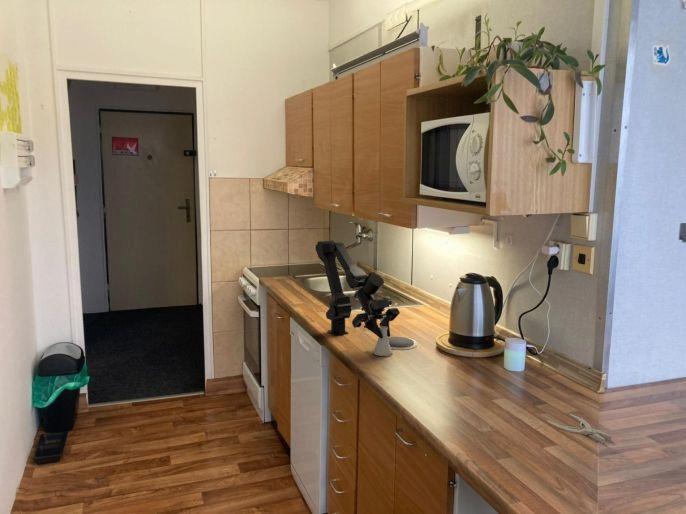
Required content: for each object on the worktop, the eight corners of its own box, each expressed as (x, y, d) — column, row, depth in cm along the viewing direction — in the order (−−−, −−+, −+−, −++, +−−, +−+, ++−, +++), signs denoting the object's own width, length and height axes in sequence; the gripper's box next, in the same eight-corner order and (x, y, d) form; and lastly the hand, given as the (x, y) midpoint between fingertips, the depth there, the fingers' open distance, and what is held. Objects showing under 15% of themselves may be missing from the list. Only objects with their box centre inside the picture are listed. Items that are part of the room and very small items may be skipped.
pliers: (571, 410, 158) (620, 433, 145) (571, 416, 158) (619, 439, 145) (547, 418, 153) (594, 442, 140) (546, 423, 153) (594, 447, 140)
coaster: (371, 340, 221) (371, 338, 221) (402, 335, 229) (402, 333, 228) (393, 352, 208) (393, 350, 208) (425, 346, 216) (425, 344, 216)
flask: (391, 357, 202) (392, 330, 201) (371, 356, 204) (372, 329, 202) (393, 351, 209) (394, 325, 208) (374, 349, 211) (375, 324, 209)
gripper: (357, 292, 201) (375, 330, 194) (397, 286, 211) (416, 322, 204) (344, 309, 208) (361, 345, 201) (383, 302, 219) (401, 337, 212)
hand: (385, 337), depth 204 cm, fingers closed on flask, 3 cm apart
